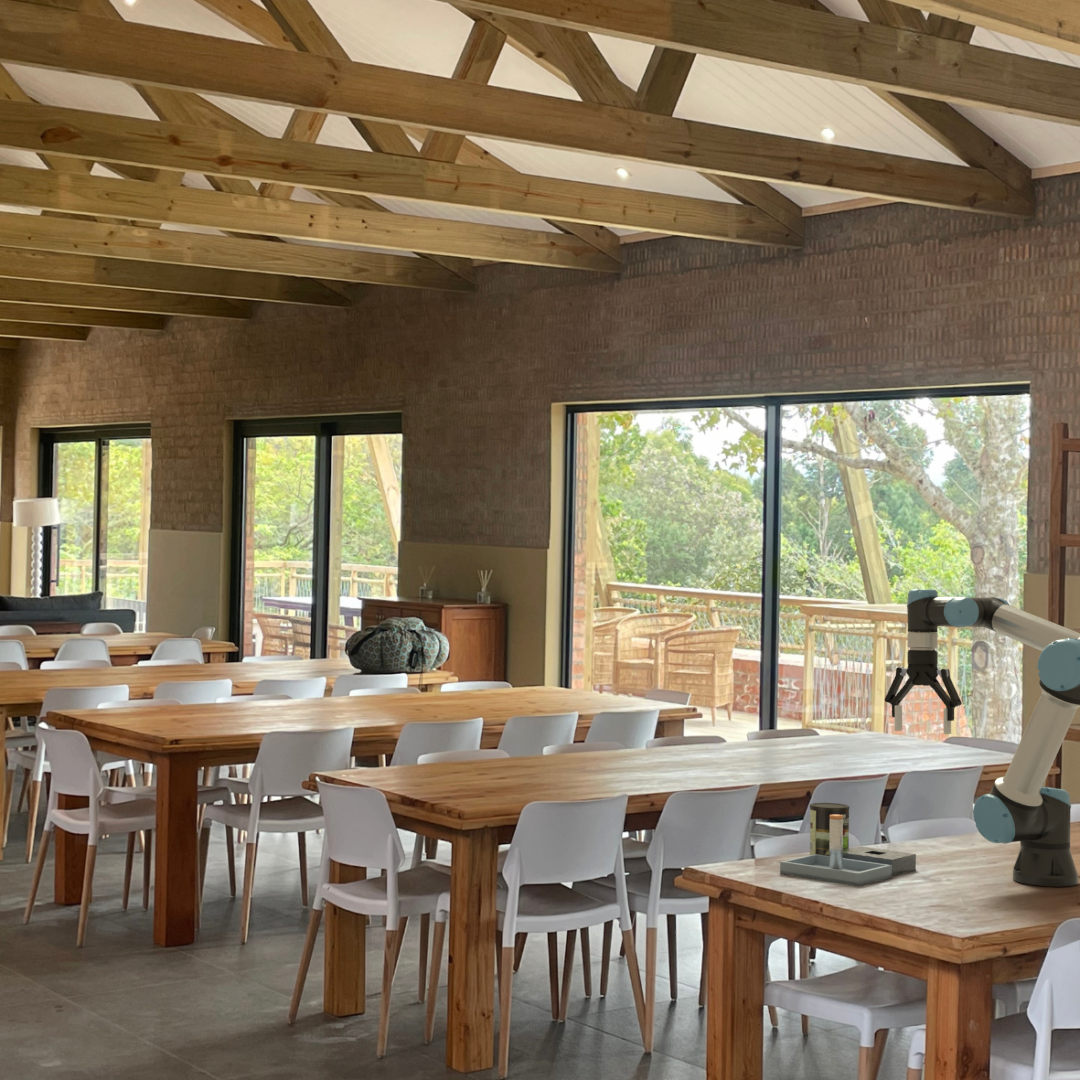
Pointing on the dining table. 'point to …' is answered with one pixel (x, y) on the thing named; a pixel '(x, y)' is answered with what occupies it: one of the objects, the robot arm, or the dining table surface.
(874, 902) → the dining table surface
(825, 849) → the coffee can
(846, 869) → the parts tray
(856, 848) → the block
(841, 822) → the orange capped tube
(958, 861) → the dining table surface
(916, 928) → the dining table surface
